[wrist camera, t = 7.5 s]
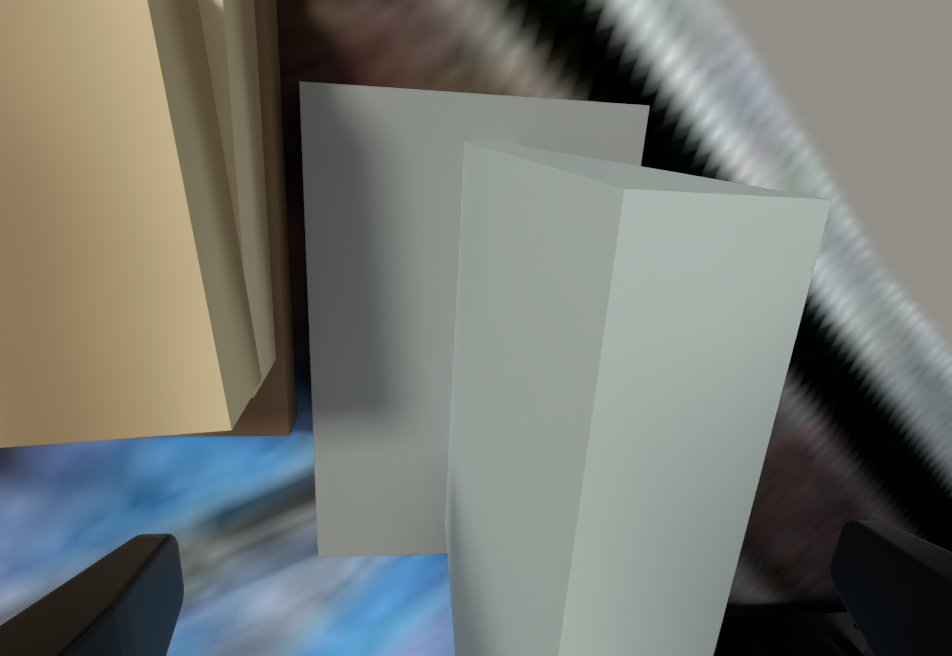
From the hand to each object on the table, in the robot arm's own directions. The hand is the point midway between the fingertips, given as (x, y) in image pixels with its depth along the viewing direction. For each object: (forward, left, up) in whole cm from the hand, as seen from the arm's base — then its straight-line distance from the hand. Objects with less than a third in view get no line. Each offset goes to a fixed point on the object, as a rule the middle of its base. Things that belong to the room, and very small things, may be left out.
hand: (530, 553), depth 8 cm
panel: (0, 0, -7) cm, 7 cm away
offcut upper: (+7, -4, -5) cm, 9 cm away
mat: (0, 0, -8) cm, 8 cm away
